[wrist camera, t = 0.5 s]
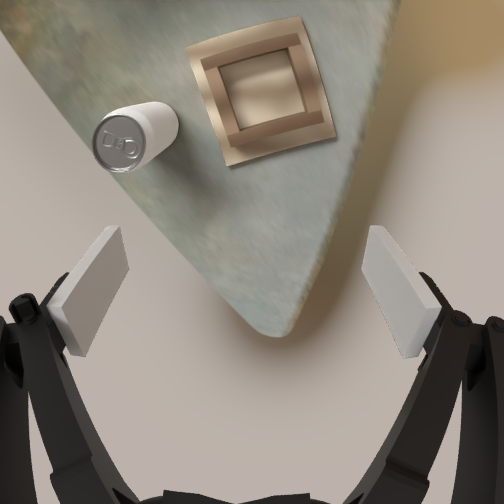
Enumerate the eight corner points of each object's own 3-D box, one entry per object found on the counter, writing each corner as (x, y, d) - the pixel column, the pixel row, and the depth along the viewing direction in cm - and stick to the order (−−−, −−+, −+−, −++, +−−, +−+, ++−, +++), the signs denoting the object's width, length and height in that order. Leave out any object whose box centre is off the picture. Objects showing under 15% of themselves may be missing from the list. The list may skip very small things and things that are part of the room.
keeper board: (186, 48, 30) (180, 45, 27) (299, 17, 28) (303, 10, 25) (227, 164, 38) (225, 171, 35) (334, 135, 36) (341, 140, 33)
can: (169, 157, 37) (138, 186, 27) (125, 141, 36) (81, 165, 25) (187, 110, 34) (160, 121, 24) (140, 95, 33) (97, 101, 22)
